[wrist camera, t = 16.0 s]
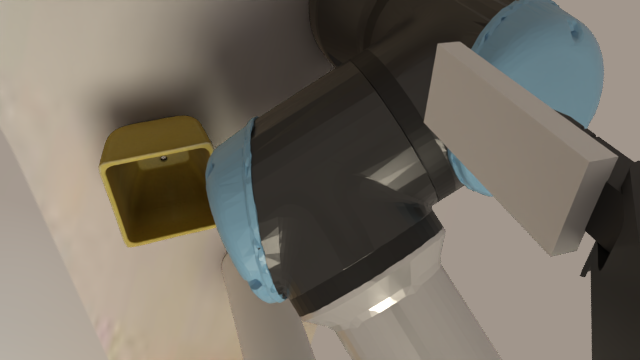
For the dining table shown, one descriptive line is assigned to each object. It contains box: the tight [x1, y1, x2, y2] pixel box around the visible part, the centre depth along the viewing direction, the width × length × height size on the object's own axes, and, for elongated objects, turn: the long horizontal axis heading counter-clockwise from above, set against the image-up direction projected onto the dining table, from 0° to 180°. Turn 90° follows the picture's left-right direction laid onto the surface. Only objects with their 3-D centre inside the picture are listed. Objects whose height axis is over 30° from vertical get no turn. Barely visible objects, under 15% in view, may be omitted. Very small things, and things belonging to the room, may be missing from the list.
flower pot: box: [99, 116, 216, 247], centre depth 47 cm, size 9×9×9 cm
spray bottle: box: [222, 253, 316, 360], centre depth 54 cm, size 7×7×25 cm
